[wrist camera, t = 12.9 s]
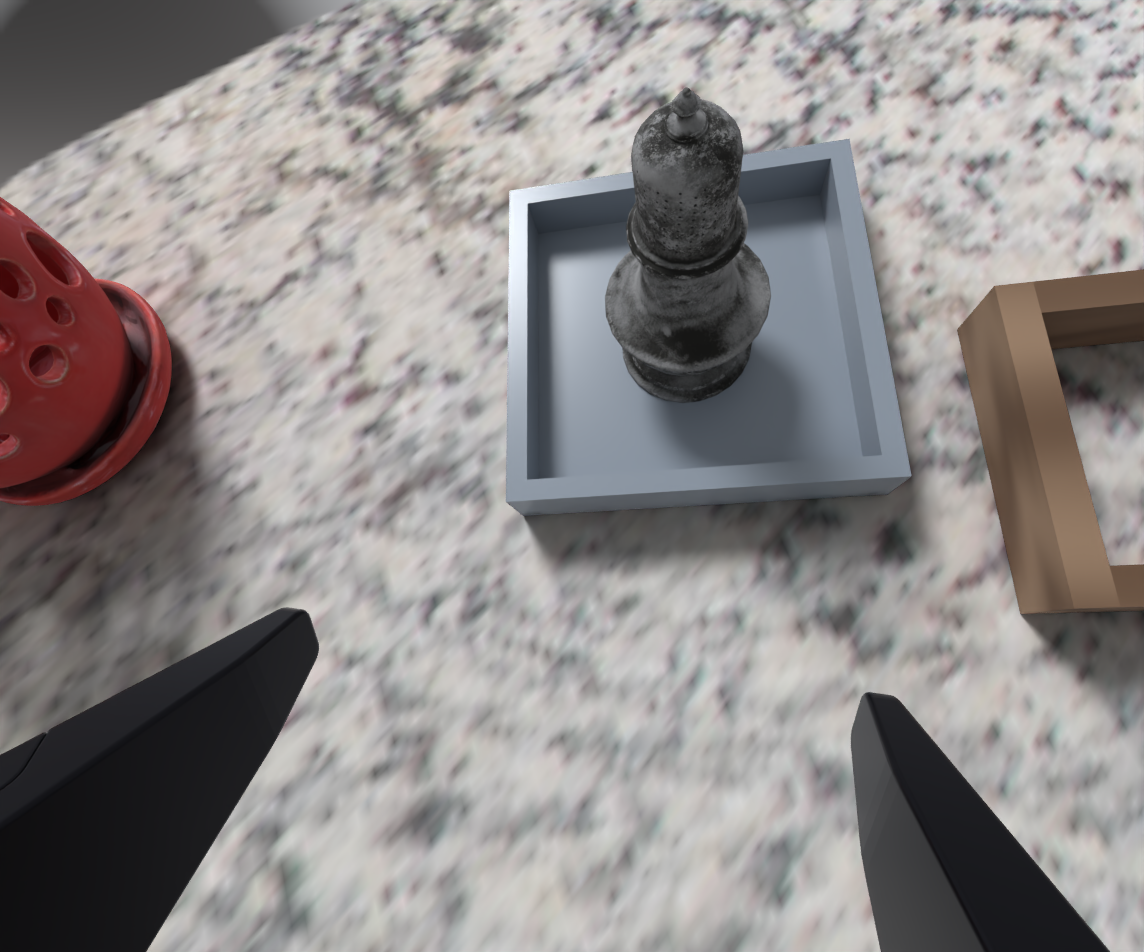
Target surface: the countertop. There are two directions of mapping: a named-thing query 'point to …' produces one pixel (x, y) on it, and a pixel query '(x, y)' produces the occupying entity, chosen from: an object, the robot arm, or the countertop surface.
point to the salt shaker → (687, 257)
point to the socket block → (1048, 434)
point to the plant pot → (70, 369)
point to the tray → (739, 413)
